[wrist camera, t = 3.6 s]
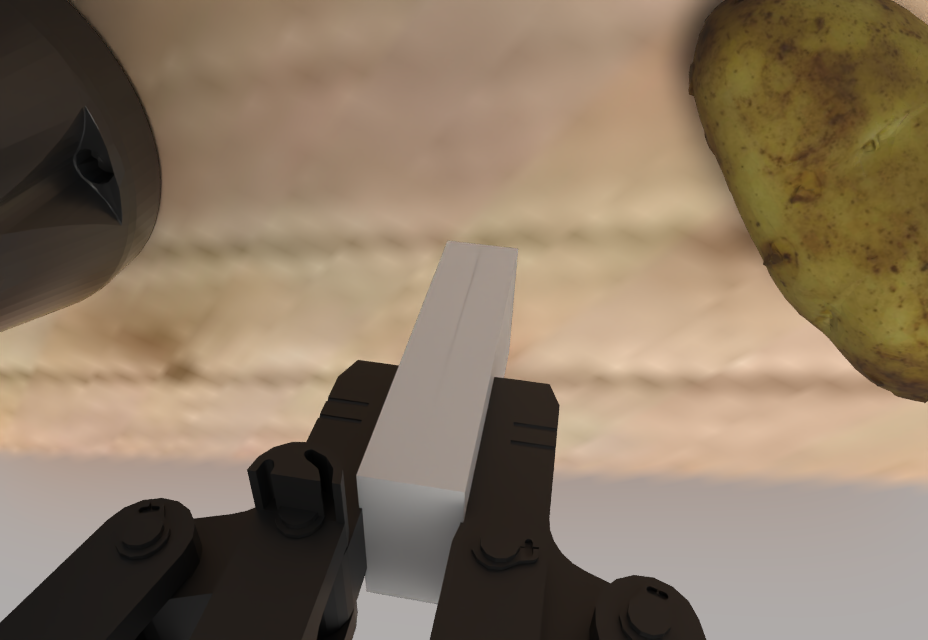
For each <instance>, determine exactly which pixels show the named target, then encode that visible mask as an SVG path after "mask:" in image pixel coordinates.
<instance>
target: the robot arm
mask: <svg viewBox="0 0 928 640" xmlns="http://www.w3.org/2000/svg"><path fill="white" fill-rule="evenodd" d="M159 201H160V173H159V164H158V158H157V153H156V148H155V144H154V140H153V136H152V133H151V130H150V127H149V124H148V121H147V119H146V116H145V114H144V111H143V109H142V106H141V104H140V102H139V100H138V98H137V96H136V94H135V92H134V90H133V88H132V86H131V84H130V82H129V80H128V79H127V77H126V75H125V74H124V72H123V70H122V69H121V67H120V65H119V64H118V62H117V61H116V59H115V58H114V56H113V55H112V54H111V52H110V51H109V49H108V48H107V46H106V45H105V44H104V43H103V41H102V40H101V39H100V37H99V36H98V35H97V33H96V32H95V31H94V30H93V29H92V28H91V26H90V25H89V24H88V23H87V22H86V21H85V19H84V18H83V17H82V16H81V15H80V14H79V13H78V12H77V11H76V10H75V9H74V8H73V7H72V6H71V5H70V4H69V3H68V2H67V1H66V0H0V332H2V331H5V330H7V329H10V328H13V327H15V326H18V325H21V324H23V323H26V322H28V321H31V320H34V319H36V318H39V317H41V316H44V315H47V314H49V313H52V312H54V311H57V310H60V309H62V308H65V307H67V306H70V305H73V304H75V303H78V302H80V301H82V300H84V299H86V298H88V297H89V296H91V295H92V294H94V293H95V292H97V291H99V290H100V289H102V288H103V287H104V286H105V285H106V284H108V283H109V282H110V281H111V280H112V279H113V278H114V277H115V276H116V275H117V274H118V273H119V272H120V271H122V270H123V269H124V268H125V267H126V266H127V265H128V264H129V263H130V262H131V261H132V260H133V259H134V258H135V257H136V256H137V255H138V254H139V252H140V251H141V250H142V248H143V247H144V245H145V244H146V242H147V241H148V239H149V237H150V234H151V232H152V230H153V227H154V224H155V221H156V217H157V213H158V208H159ZM517 256H518V249H517V248H508V247H500V246H491V245H482V244H473V243H464V242H456V241H447V243H446V246H445V248H444V251H443V253H442V256H441V259H440V261H439V264H438V266H437V269H436V272H435V274H434V277H433V279H432V282H431V284H430V287H429V290H428V292H427V295H426V297H425V300H424V302H423V305H422V308H421V310H420V313H419V315H418V318H417V320H416V323H415V326H414V328H413V331H412V333H411V336H410V338H409V341H408V344H407V346H406V349H405V351H404V354H403V357H402V359H401V362H400V364H399V366H398V365H391V364H384V363H376V362H369V361H362V360H357V361H356V362H355V363H354V364H353V365H351V366H350V367H349V368H348V369H347V370H346V371H344V372H343V373H342V374H341V375H340V376H338V378H337V380H336V382H335V384H334V386H333V388H332V391H331V393H330V395H329V397H328V401H326V403H325V405H324V407H323V409H322V411H321V413H320V418H318V419H317V421H316V423H315V425H314V427H313V429H312V431H311V434H310V436H309V438H308V440H307V442H291V443H287V444H283V445H280V446H276V447H273V448H272V449H270V450H268V451H267V452H265V453H264V454H262V455H260V456H259V457H258V458H257V459H256V460H255V461H254V462H253V464H252V465H251V466H250V467H249V468H248V469H247V471H248V476H249V480H250V485H251V489H252V494H253V498H254V502H255V508H253V509H250V510H248V511H245V512H240V513H235V514H229V515H221V516H212V517H204V518H196V519H193V517H192V514H191V512H190V510H189V509H188V508H186V507H185V506H183V505H182V504H181V503H180V502H178V501H174V500H169V499H164V498H158V499H149V500H142V501H140V502H137V503H135V504H132V505H130V506H127V507H125V508H123V509H122V510H120V511H119V512H118V513H116V514H115V515H113V516H112V517H111V518H110V519H108V520H107V521H106V522H105V523H104V524H103V525H102V526H101V527H100V528H99V529H98V530H96V531H95V532H94V533H93V534H92V535H91V536H90V537H89V538H88V539H87V540H86V541H85V542H84V543H83V544H82V545H81V546H80V547H79V548H78V549H77V550H76V551H74V552H73V553H72V554H71V555H70V556H69V557H68V558H67V559H66V560H65V561H64V562H63V563H62V564H61V565H60V566H59V567H58V568H57V569H56V570H55V571H54V572H53V573H52V574H50V575H49V576H48V577H47V578H46V579H45V580H44V581H43V582H42V583H41V584H40V585H39V586H38V587H37V588H36V589H35V590H34V591H33V592H32V593H31V594H30V595H29V596H27V597H26V598H25V599H24V600H23V601H22V602H21V603H20V604H19V605H18V606H17V607H16V608H15V609H14V610H13V611H12V612H11V613H10V614H9V615H8V616H7V617H6V618H5V619H4V620H2V621H1V622H0V640H352V638H353V635H354V632H355V629H356V622H357V613H358V611H357V602H356V600H357V598H358V595H359V591H360V588H361V585H362V582H363V579H364V576H365V579H366V591H367V592H372V593H378V594H383V595H389V596H394V597H400V598H405V599H411V600H417V601H423V602H428V603H434V604H438V606H437V610H436V615H435V619H434V623H433V628H432V632H431V637H430V640H706V638H705V635H704V632H703V629H702V627H701V624H700V621H699V619H698V617H697V615H696V613H695V612H694V610H693V608H692V606H691V605H690V603H689V602H688V600H687V599H685V598H684V597H683V596H682V595H681V594H680V593H679V592H678V591H677V590H676V589H674V588H673V587H672V586H670V585H668V584H666V583H664V582H661V581H659V580H657V579H655V578H652V577H644V576H637V575H632V576H628V577H624V578H620V579H616V580H615V581H613V582H612V583H609V582H606V581H604V580H602V579H600V578H598V577H596V576H594V575H592V574H590V573H588V572H586V571H584V570H583V569H581V568H579V567H578V566H576V565H574V564H572V562H571V561H570V560H569V559H567V558H566V557H565V556H564V555H563V554H562V553H561V551H560V550H559V548H558V547H557V545H556V544H555V542H554V540H553V537H552V534H551V532H550V522H549V515H550V504H551V493H552V482H553V471H554V460H555V448H556V438H557V427H558V416H559V404H558V401H557V399H556V397H555V395H554V393H553V391H552V389H551V386H550V384H544V383H536V382H529V381H522V380H514V379H507V378H504V375H505V370H506V364H507V359H508V354H509V347H510V335H511V324H512V313H513V301H514V290H515V279H516V267H517Z"/></svg>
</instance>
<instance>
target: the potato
mask: <svg viewBox="0 0 928 640" xmlns="http://www.w3.org/2000/svg"><path fill="white" fill-rule="evenodd" d="M689 94H690V95H693V96H694V98H695V101H696V105H697V109H698V113H699V117H700V120H701V123H702V125H703V128H704V132H705V138H706V141H707V143H708V146H709V148H710V149H711V151H712V152H713V154H714V155H715V157H716V159H717V161H718V163H719V165H720V168H721V170H722V172H723V175H724V177H725V180H726V182H727V185H728V188H729V190H730V192H731V193H732V196H733V198H734V201H735V204H736V206H737V208H738V211H739V213H740V215H741V217H742V219H743V221H744V223H745V226H746V228H747V230H748V232H749V234H750V236H751V238H752V240H753V241H754V243H755V245H756V247H757V249H758V251H759V253H760V255H761V257H762V259H763V261H764V263H763V265H765V266H766V267H767V269H768V272H769V274H770V276H771V278H772V279H773V281H774V282H775V284H776V286H777V287H778V288H779V290H780V291H781V293H782V294H783V296H784V297H785V299H786V300H787V301H788V302H789V303H790V304H791V305H792V306H793V307H794V308H795V309H796V311H797V312H798V313H799V314H800V315H801V316H803V317H804V318H805V319H806V320H808V321H809V322H810V323H811V324H813V325H814V326H815V327H816V328H818V329H819V330H820V331H822V332H823V333H824V334H825V335H826V336H827V337H828V338H829V339H830V340H831V341H832V343H833V344H834V345H835V346H836V347H837V349H838V350H839V351H840V352H841V353H842V355H843V356H844V357H845V358H846V359H847V360H848V361H849V362H850V363H851V365H852V366H853V367H854V368H855V369H856V370H857V371H859V372H860V373H861V374H862V375H863V376H865V377H866V378H867V379H868V380H870V381H871V382H873V383H874V384H876V385H877V386H880V387H881V388H884V389H886V390H888V391H891V392H892V393H893V394H894V395H896V396H898V397H901V398H905V399H910V400H914V401H919V402H924V403H926V402H927V401H928V25H927V24H926V23H924V22H923V21H922V20H920V19H919V18H918V17H916V16H915V15H913V14H912V13H911V12H910V11H908V10H907V9H905V8H904V7H902V6H900V5H899V4H897V3H895V2H894V1H891V0H725V1H724V2H722V3H721V4H720V5H719V6H718V7H716V8H715V9H714V10H713V12H712V13H711V14H710V15H709V16H708V17H707V19H706V20H705V24H704V26H703V29H702V31H701V33H700V35H699V39H698V43H697V47H696V50H695V55H694V60H693V63H692V64H691V66H690V72H689Z"/></svg>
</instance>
